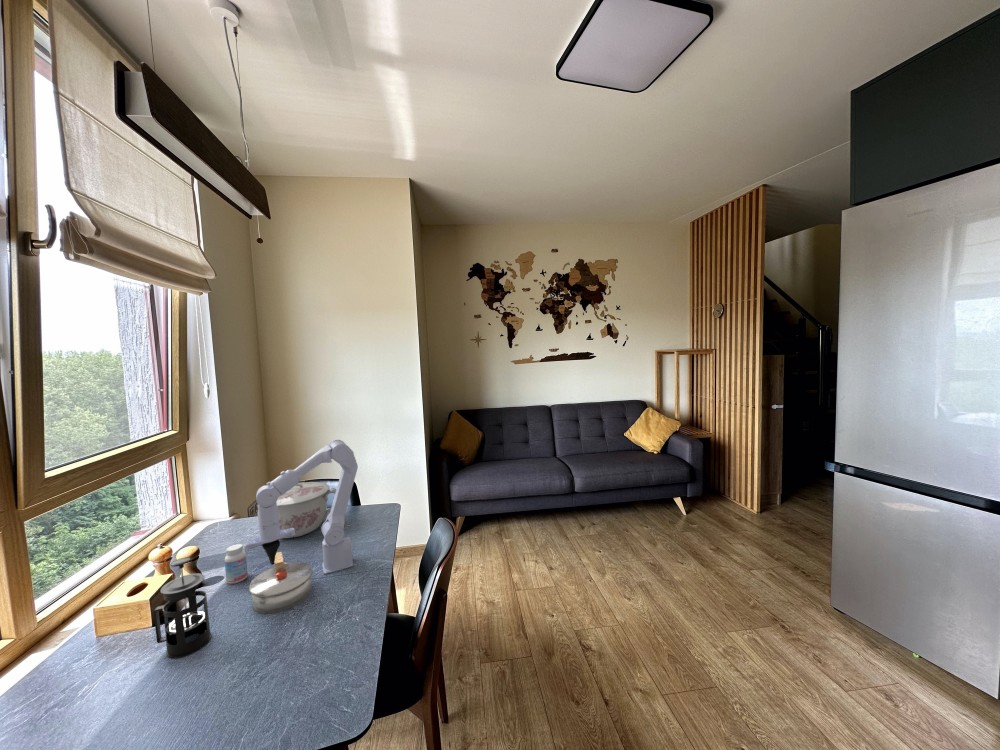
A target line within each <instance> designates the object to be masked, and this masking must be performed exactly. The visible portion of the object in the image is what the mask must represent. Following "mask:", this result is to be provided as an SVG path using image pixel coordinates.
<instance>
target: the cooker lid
mask: <svg viewBox="0 0 1000 750" xmlns="http://www.w3.org/2000/svg"><path fill="white" fill-rule="evenodd" d="M284 563H285V561H284V556H283V553H282V551H279V552H278V551H277V552H276V556H275V560H274V564H273V565H274V566H273V567H270V568H269V569H266V570H264V571H263V572H261V573H259V574H258V575H256V576H255V577H254V578H253V579H252V580H251V582H250V584H249V588H248V589H249V593H250V595H251V596H252V595H253V596H256V597H273V596H278V595H282V594H285V593H287V592H290V591H292V590H294V589H296V588H298V587H300V586H301V585H303V584H304V583H305V582H306V581H308V580H309V578H310V577H311V578H312V575H313V568H312V566H311V565H310V564H309V563H307V562H301V561H299V562H298V561H295V562H287V563H286V564H284Z"/></svg>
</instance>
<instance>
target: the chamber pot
mask: <svg viewBox="0 0 1000 750" xmlns="http://www.w3.org/2000/svg"><path fill="white" fill-rule="evenodd" d="M336 489H337V488H334V487H330V485H328V484H327V483H326V482H319V481H318V482H317V481H309V482H307V481H306V482H299V483H298V484H297V485H295V486H294V487H293V488H291V489H290V490H289V491H287V492H286V493H285V494H283V495H282V496H279V497H278V499H277V502H276V503H277V507H278V516H279V528H280V531H281V530H286V529H290V528H294V529H295V535H293V536H291V535H290V536H287V537H284V538H283V539H291V538H292V539H294V538H298V537H302V536H305V535H308V534H309V533H312V532H314V531H315V530H316V529H318V528H319V526H320V525H321V524H323V523H322V522H325V521H324V520H326V519H327V516H328V514H329V513H330V511H331V507H330V508H328V500H329V497H328V495H330V494H334V495H335V493H336ZM293 537H294V538H293Z"/></svg>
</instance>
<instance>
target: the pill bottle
mask: <svg viewBox="0 0 1000 750" xmlns="http://www.w3.org/2000/svg"><path fill="white" fill-rule="evenodd" d="M225 552H226V553H225V554H226V556H225V557H224V569H225V570H224V571H225V581H226V583H227V584H232V585H233V584H238V583H240V582H243V581H244V580H246V579H247V578H248V575H249V574H248V571H249V570H248V562H247V553H246V551H245V550H244V546H243V544H241V543H236V544H233V545H231V546H228V547H227V548H226V549H225Z"/></svg>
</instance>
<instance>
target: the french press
mask: <svg viewBox="0 0 1000 750" xmlns="http://www.w3.org/2000/svg"><path fill="white" fill-rule="evenodd" d="M191 560H192V558H191V557H182V558H178V559H175V560H173V561H172V562H171V563H170V567H178V569H179V570H180V574H181V576H180V577H176V578H175V579H171V581H169V582H167V583H165V584H164V585H163V586H162V587H161V588H160V593H161V595H163V599H164V601H167V602H166V603H165V604H162V605H159V606H156V607H155V609H154V610H153V618H154V619H153V620H154V627H155V628H154V629H155V638H156V643H157V644H160V643H165V642H166V643H165V644H166V652H165V653H166V657H167V658H169V659H180V658H184V657H188V656H191V655H192V654H194V653H196V652H198V651H200V650H202V649H203V648H204V647H205V646H206V645H208V643H210V641H211V639H212V632H211V625H210V618H209V616H210V615H209V607H208V600H207V599H208V598H207V596H208V595H207V592H206V591H204V590H197V589H198V587H199V586H200V585H201V583H203V582H204V581H205V575H204V574H203V573H197V572H196V573H189V574H186V575H184V571H183V570H184V569H183V568H184V565H187V564H188V563H189V562H191ZM198 596H200V597H201V596H202V597H203V598H202V599H201V600H200V601H198V602H197V597H198ZM187 599H188V600H187ZM181 600H183V601H184V602H183V603H184V609H180V610H176V611H168V609H169V608H170V607H171V606H172V605H174V604H175V603H177V602H180V601H181ZM186 600H187V601H188V606H187V601H186ZM202 606H203V609H204V610H198V609H199V608H202ZM159 611H162V615H163V621H164V631H165V636H163V637H162V632H161V622H160V614H159ZM169 618H170V619H171V618H174V620H172V621H171V622H170V621H169ZM169 622H170V623H169ZM195 635H196V636H197V635H198V636H197V637H195V638H194V639H191V640H188V641H186V638H189V637H192V636H195Z"/></svg>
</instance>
